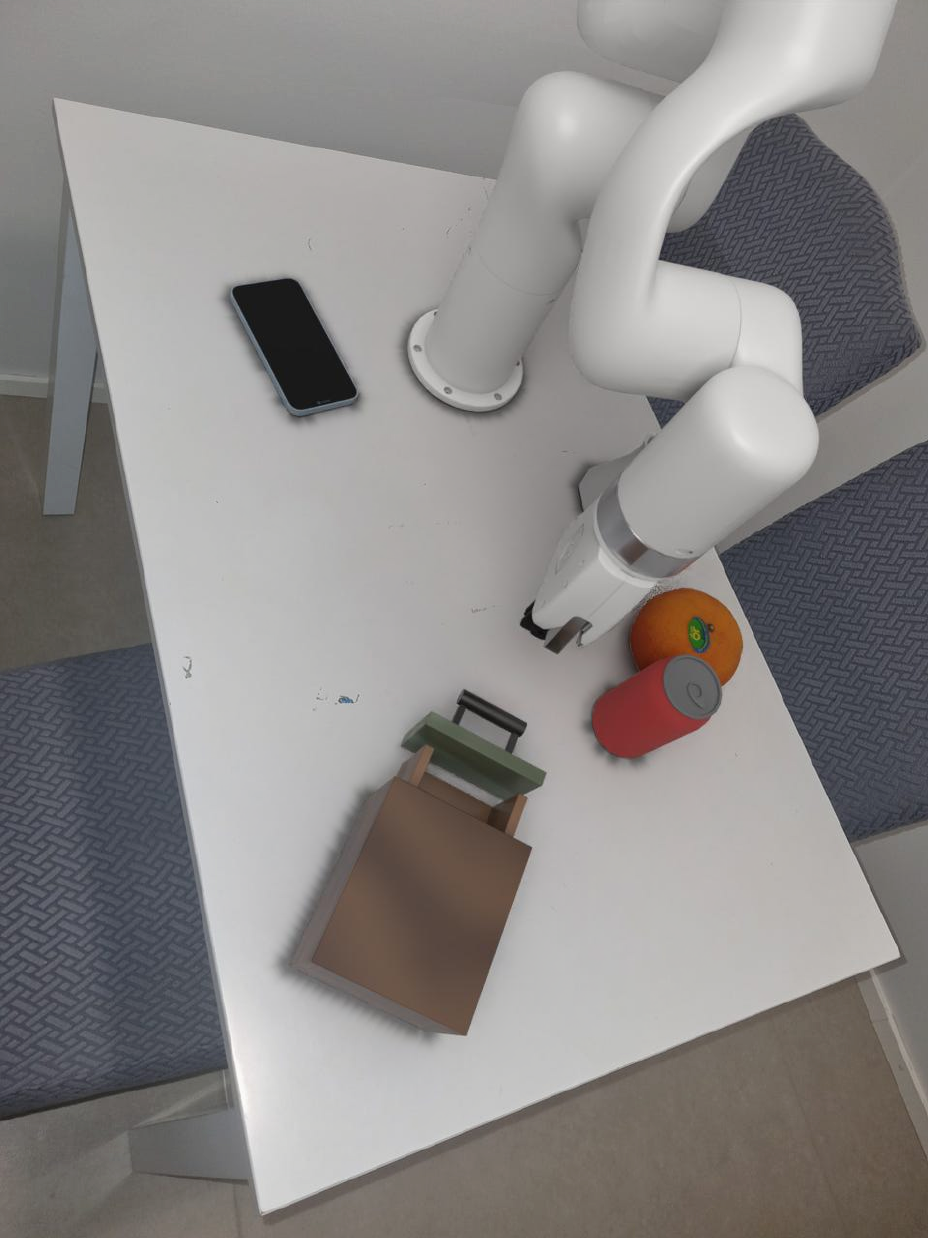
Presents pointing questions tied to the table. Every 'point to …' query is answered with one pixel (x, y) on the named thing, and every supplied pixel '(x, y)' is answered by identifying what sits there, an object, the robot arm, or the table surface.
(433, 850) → the cabinet
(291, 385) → the smartphone
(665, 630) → the fruit
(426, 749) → the drawer
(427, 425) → the table surface
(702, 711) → the beer can
